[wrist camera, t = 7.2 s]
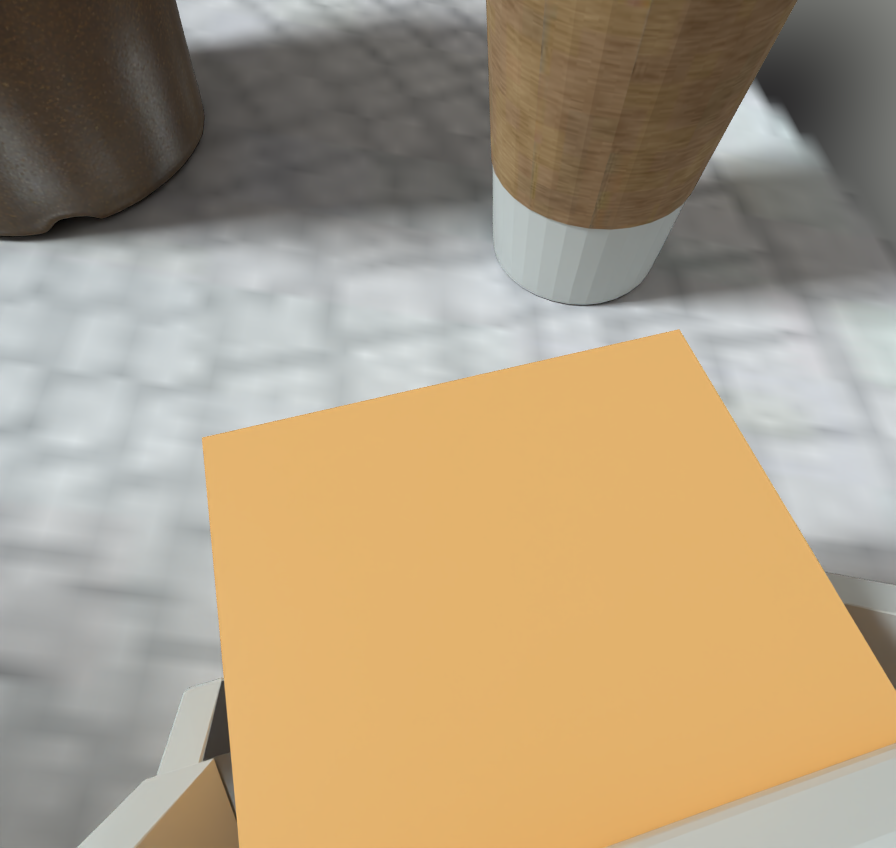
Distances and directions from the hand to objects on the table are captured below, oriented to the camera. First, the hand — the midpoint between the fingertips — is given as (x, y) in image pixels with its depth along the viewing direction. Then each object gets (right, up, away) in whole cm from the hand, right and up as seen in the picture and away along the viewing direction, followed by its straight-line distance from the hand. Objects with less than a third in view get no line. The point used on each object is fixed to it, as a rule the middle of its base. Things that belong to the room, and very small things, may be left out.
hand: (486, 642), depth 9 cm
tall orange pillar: (0, -3, +4) cm, 5 cm away
